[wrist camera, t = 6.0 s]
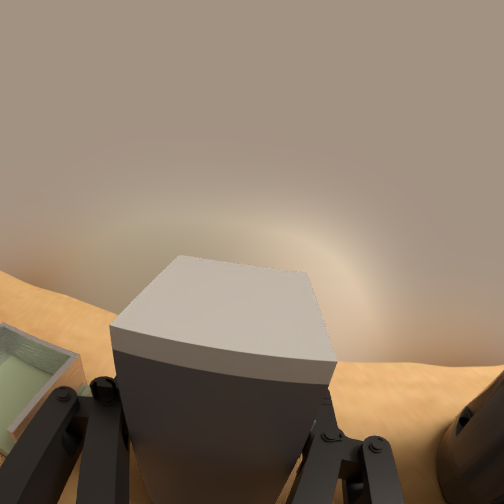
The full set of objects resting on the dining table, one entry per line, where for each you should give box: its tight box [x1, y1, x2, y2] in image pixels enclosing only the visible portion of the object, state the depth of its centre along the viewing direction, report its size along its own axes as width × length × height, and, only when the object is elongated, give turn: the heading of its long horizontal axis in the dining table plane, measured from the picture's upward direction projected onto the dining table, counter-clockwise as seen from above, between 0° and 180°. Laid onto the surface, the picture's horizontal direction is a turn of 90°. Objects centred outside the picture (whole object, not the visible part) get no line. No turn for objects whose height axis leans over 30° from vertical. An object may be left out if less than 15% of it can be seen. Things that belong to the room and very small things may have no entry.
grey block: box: [109, 255, 337, 504], centre depth 12 cm, size 6×7×13 cm
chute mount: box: [0, 322, 88, 443], centre depth 13 cm, size 9×8×3 cm
